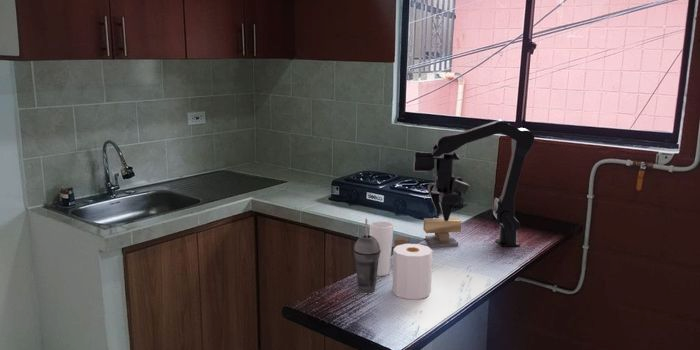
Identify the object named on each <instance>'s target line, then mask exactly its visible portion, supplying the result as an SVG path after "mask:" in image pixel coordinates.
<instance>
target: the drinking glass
mask: <svg viewBox="0 0 700 350" xmlns="http://www.w3.org/2000/svg"><path fill="white" fill-rule="evenodd" d="M368 235H370V236H373V237H374V238H375V239H376V240H377V241H378V243H379V245H380V250H381V252H380V256H379V260H378V269H377V277H385V276H388V275H389V274H390V271H391V270H390V269H391V266H390V265H391V258H392V251H393V242H394V241H393V240H394V225H393V223H391V222H389V221H383V220H378V221H372V222H370V224H369V234H368Z"/></svg>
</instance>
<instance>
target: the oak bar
mask: <svg viewBox="0 0 700 350" xmlns="http://www.w3.org/2000/svg"><path fill="white" fill-rule="evenodd" d="M422 229H423V231H424V232H425V233H426V234H435V233H449V234H450V233H461V232H462V220H461V219H460V218H459V217H449V219H448V221H445V220H444V217H434V218H433V217H431V218H423V228H422Z"/></svg>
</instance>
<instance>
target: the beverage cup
mask: <svg viewBox="0 0 700 350" xmlns="http://www.w3.org/2000/svg"><path fill="white" fill-rule="evenodd" d="M364 221H365V235H362V236H360V237H358V239H357V240H356V242H355V243H354V248H353V252H354V253H353V254H354V258H355V267H356V268H355V269H356V270H355V271H356V279H357V280H356V281H357V290H358V293H360V292H361V293H360V294H362V293H367V294H366V295H370V294H369V293H372V294H374V293H375V292H376V285H377V277H378V276H377V269H378V260H379V256H380V252H381V250H380V245H379V243H378V241H377V240H376V239H375V238H374V237H373V236H370V235H369V234H368V218H365V220H364ZM373 292H374V293H373Z"/></svg>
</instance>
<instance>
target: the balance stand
mask: <svg viewBox="0 0 700 350" xmlns="http://www.w3.org/2000/svg"><path fill="white" fill-rule="evenodd" d="M424 237H425V238H424V239H425V240H426V241H427V242H428V244H429V245H430V246H431V248H438V247H439V248H440V247H459V242H458V241H457V240H456V239H455V238H454V237H453V236H452V235H451V234H450V233H434V235H425V236H424Z"/></svg>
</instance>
